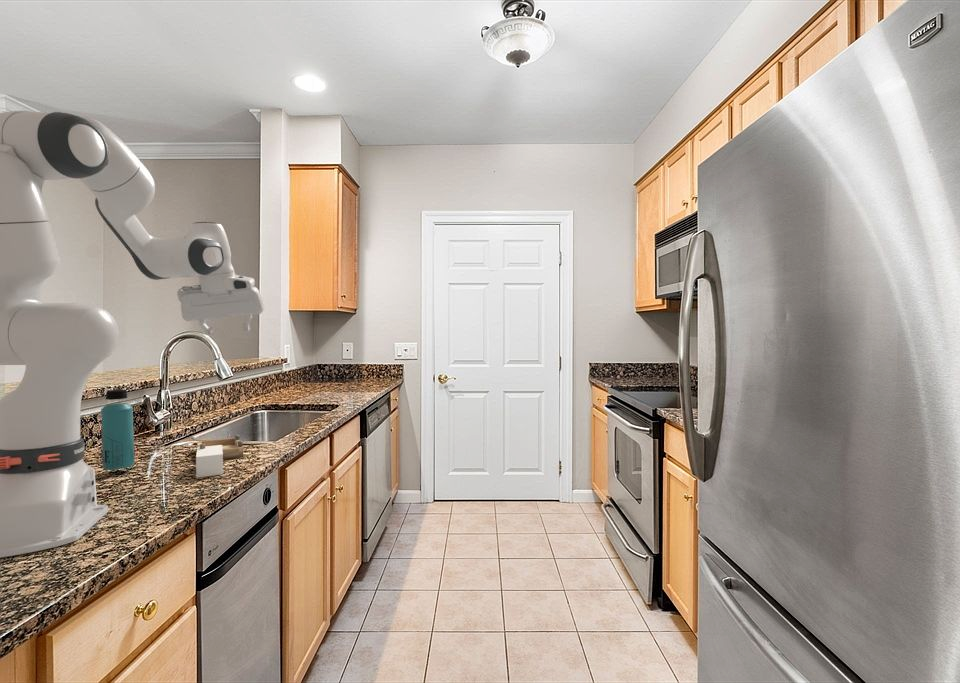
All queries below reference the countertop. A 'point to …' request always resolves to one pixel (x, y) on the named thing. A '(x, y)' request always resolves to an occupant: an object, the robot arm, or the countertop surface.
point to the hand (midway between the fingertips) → (228, 332)
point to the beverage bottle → (117, 432)
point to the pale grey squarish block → (209, 460)
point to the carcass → (227, 446)
